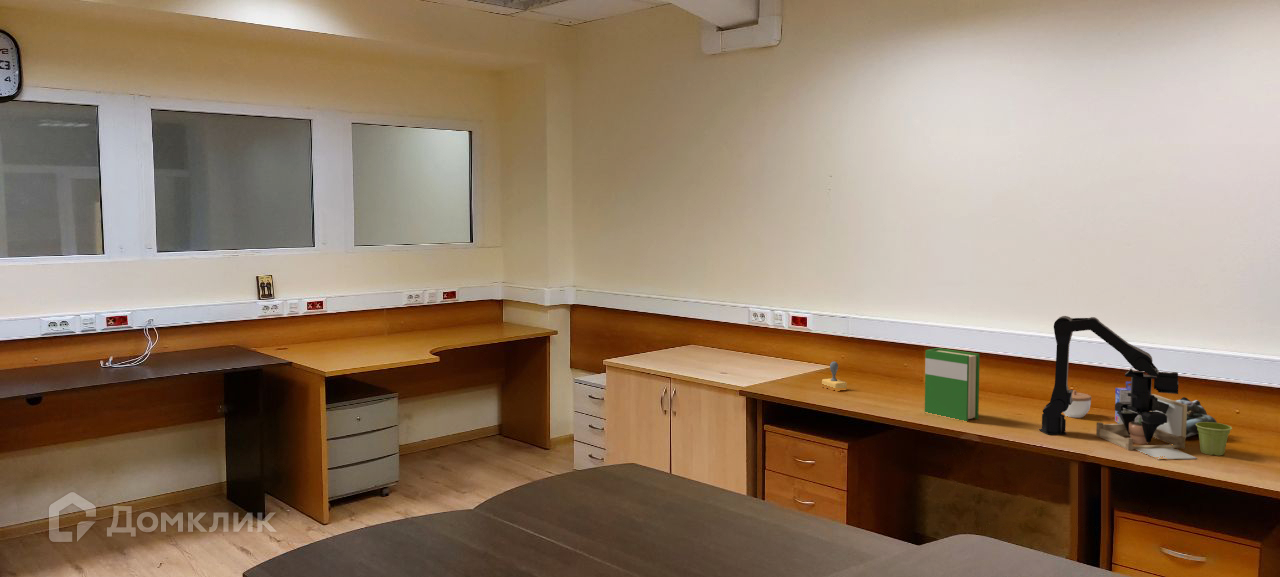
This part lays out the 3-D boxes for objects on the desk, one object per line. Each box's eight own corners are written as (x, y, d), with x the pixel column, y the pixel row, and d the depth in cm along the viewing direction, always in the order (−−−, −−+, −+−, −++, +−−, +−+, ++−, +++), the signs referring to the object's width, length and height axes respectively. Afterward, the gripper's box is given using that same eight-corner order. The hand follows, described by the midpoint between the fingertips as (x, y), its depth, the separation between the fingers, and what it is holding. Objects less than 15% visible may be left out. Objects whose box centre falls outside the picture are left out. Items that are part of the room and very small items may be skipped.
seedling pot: (1135, 445, 279) (1136, 420, 278) (1124, 439, 285) (1125, 415, 284) (1154, 444, 279) (1155, 419, 278) (1142, 439, 285) (1143, 415, 284)
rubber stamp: (821, 387, 375) (821, 360, 374) (832, 386, 378) (832, 359, 377) (835, 391, 366) (836, 363, 365) (846, 390, 369) (847, 362, 368)
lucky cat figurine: (1175, 440, 283) (1157, 399, 288) (1166, 445, 294) (1149, 406, 299) (1225, 429, 280) (1206, 387, 285) (1214, 434, 290) (1196, 395, 296)
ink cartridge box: (1143, 421, 309) (1145, 381, 307) (1149, 425, 303) (1151, 384, 302) (1113, 420, 311) (1114, 380, 309) (1118, 424, 305) (1120, 383, 304)
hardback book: (978, 419, 316) (979, 353, 314) (966, 422, 312) (967, 356, 309) (936, 410, 330) (937, 348, 328) (924, 413, 326) (925, 350, 324)
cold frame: (1128, 450, 273) (1128, 435, 272) (1096, 435, 290) (1096, 422, 290) (1184, 448, 274) (1185, 434, 273) (1149, 434, 291) (1150, 420, 291)
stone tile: (1158, 460, 262) (1158, 458, 262) (1135, 450, 273) (1135, 449, 273) (1196, 459, 262) (1196, 457, 262) (1172, 449, 273) (1172, 447, 273)
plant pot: (1238, 455, 266) (1239, 427, 265) (1216, 458, 262) (1218, 430, 261) (1208, 447, 274) (1209, 420, 274) (1187, 451, 271) (1188, 423, 270)
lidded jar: (1089, 413, 321) (1090, 388, 320) (1091, 420, 311) (1092, 394, 310) (1057, 411, 325) (1058, 386, 324) (1058, 417, 316) (1058, 392, 315)
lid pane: (1182, 438, 274) (1184, 405, 273) (1149, 425, 290) (1150, 394, 289) (1185, 438, 274) (1187, 405, 273) (1152, 425, 290) (1153, 394, 289)
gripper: (1184, 396, 272) (1182, 445, 273) (1146, 384, 290) (1145, 430, 292) (1150, 397, 271) (1148, 446, 272) (1114, 385, 290) (1112, 431, 291)
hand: (1139, 438), depth 282 cm, fingers open, 9 cm apart
